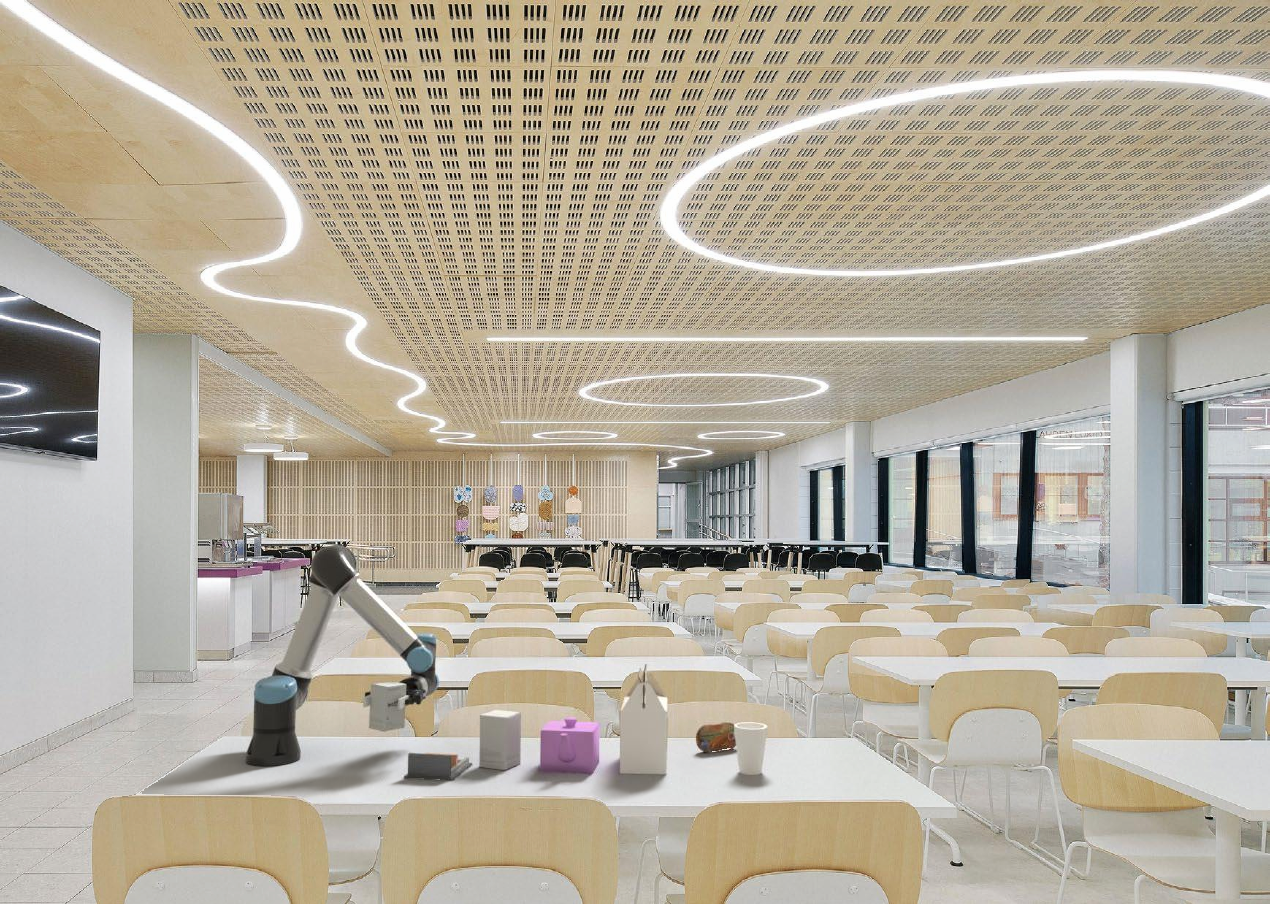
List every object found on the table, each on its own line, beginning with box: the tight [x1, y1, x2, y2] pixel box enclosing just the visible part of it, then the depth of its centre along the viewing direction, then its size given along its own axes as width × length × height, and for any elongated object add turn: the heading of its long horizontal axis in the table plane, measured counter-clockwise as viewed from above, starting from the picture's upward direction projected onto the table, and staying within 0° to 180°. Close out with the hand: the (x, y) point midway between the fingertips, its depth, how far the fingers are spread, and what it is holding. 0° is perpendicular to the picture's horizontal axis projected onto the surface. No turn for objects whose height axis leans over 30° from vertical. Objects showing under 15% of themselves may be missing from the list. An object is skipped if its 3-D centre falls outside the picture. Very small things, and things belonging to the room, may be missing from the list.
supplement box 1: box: [368, 681, 406, 733], centre depth 280 cm, size 7×7×13 cm
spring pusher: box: [424, 752, 459, 768], centre depth 277 cm, size 9×1×4 cm, turn 82°
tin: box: [695, 722, 736, 754], centre depth 304 cm, size 15×3×8 cm, turn 120°
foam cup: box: [734, 721, 768, 776], centre depth 279 cm, size 10×9×13 cm
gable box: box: [619, 663, 669, 776], centre depth 287 cm, size 22×13×28 cm, turn 178°
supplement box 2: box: [478, 709, 522, 771], centre depth 283 cm, size 9×9×15 cm
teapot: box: [539, 716, 601, 775], centre depth 281 cm, size 15×25×14 cm, turn 174°
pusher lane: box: [403, 752, 473, 781], centre depth 276 cm, size 14×17×7 cm
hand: (381, 703), depth 275 cm, fingers closed on supplement box 1, 10 cm apart
